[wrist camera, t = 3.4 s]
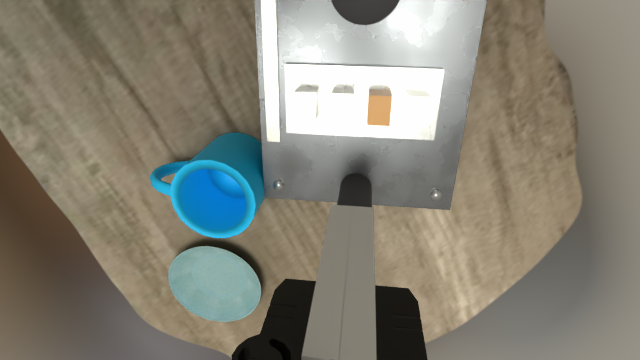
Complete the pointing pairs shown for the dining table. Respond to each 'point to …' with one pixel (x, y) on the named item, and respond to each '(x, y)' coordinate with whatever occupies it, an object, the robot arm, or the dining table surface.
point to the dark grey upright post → (355, 191)
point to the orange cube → (379, 107)
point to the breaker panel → (365, 98)
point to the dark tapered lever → (364, 10)
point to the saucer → (214, 283)
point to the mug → (217, 185)
